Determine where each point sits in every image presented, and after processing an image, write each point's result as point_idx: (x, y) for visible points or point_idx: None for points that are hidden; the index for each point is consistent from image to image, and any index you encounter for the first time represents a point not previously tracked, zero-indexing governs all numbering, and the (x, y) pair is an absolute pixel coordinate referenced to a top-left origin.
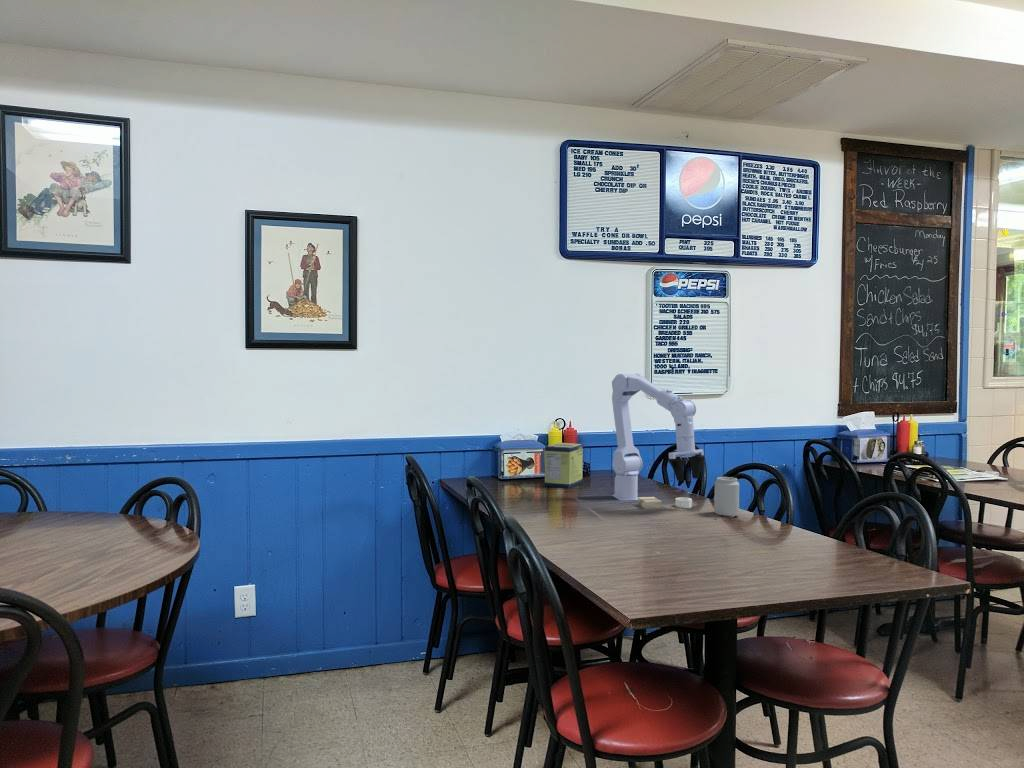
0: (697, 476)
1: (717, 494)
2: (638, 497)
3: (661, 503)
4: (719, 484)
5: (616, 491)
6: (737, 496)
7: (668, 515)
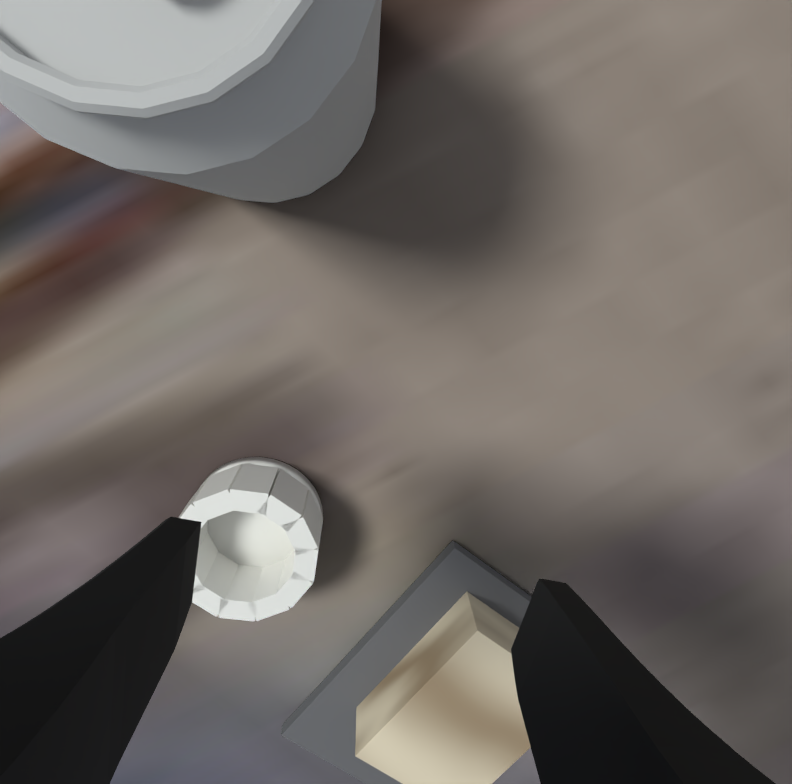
0: (189, 544)
1: (367, 81)
2: None
3: (475, 617)
4: None
5: None
6: None
7: (597, 459)
